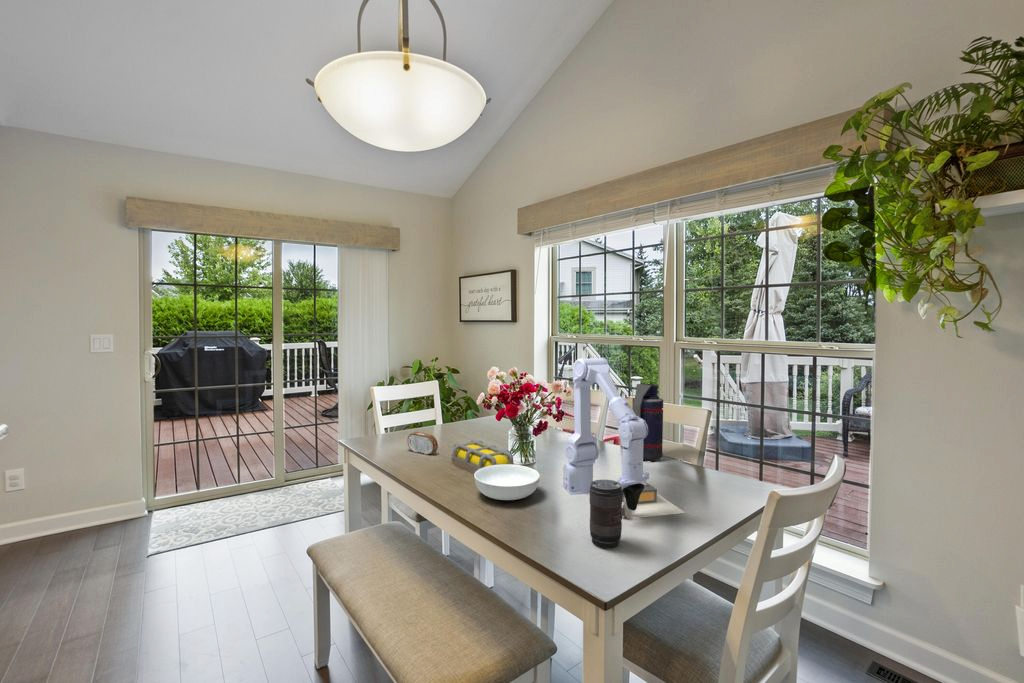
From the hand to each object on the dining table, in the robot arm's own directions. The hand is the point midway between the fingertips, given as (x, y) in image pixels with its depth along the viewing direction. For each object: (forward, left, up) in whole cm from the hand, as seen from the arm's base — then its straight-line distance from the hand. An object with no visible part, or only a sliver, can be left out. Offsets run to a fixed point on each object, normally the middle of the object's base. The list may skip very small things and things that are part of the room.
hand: (631, 509), depth 136 cm
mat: (+7, +6, -2) cm, 10 cm away
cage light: (-34, +53, -3) cm, 63 cm away
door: (-1, +3, -2) cm, 3 cm away
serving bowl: (-31, +24, -2) cm, 39 cm away
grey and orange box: (+7, +10, -2) cm, 13 cm away
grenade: (+32, +50, -2) cm, 60 cm away
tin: (-55, +78, -2) cm, 96 cm away
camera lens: (-14, -13, -2) cm, 19 cm away
